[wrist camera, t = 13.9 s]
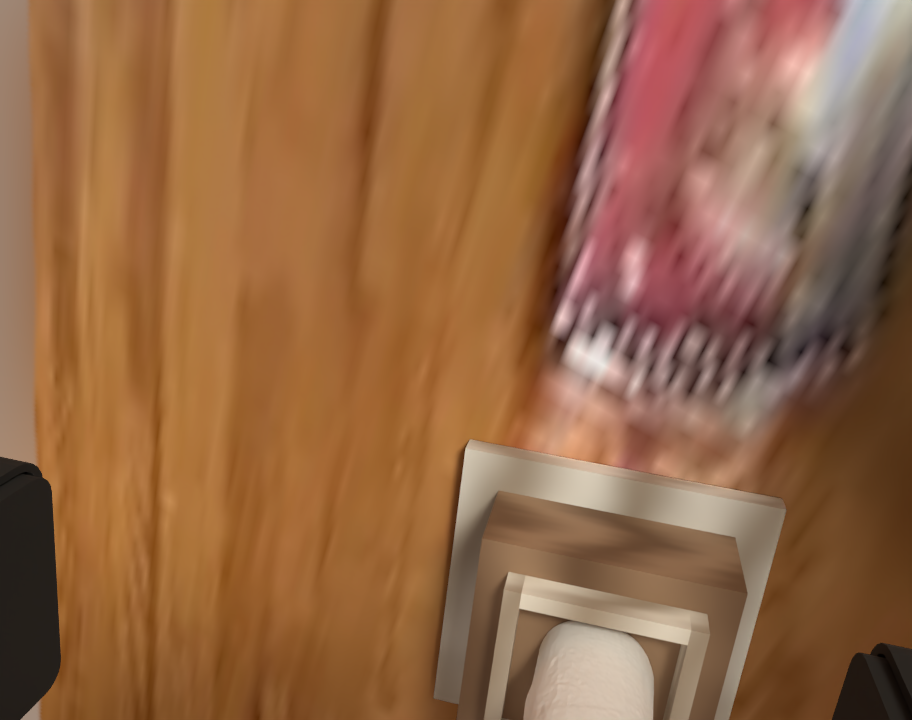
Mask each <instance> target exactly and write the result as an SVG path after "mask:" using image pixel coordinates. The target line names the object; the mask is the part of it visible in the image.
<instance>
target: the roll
mask: <svg viewBox="0 0 912 720" xmlns="http://www.w3.org/2000/svg"><path fill="white" fill-rule="evenodd" d="M653 700H654V676H653V671H652V667H651V665H650V662H649V659H648V657H647V655H646V653H645V652H644V650H643V648H642V647H641V646H640V644H639V643H638V642H637V641H636V640H635V639H634V638H633V637H631V636H630V635H628V634H627V633H625V632H624V631H619V630H615V629H610V628H606V627H601V626H597V625H592V624H587V623H583V622H578V621H574V620H573V621H567V622H563V623H561V624H559V625H557V626H555V627H554V628H552V629H551V630H550V631H549V632H548V633H547V635H546V636H545V638H544V639H543V641H542V643H541V646H540V649H539V655H538V659H537V664H536V668H535V673H534V677H533V681H532V685H531V687H530V690H529V692H528V695H527V698H526V702H525V708H524V717H523V720H653Z"/></svg>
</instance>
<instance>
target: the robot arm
mask: <svg viewBox="0 0 912 720" xmlns="http://www.w3.org/2000/svg"><path fill="white" fill-rule="evenodd" d="M60 662H61V653H60V635H59V616H58V598H57V579H56V560H55V542H54V523H53V504H52V490H51V486H50V484H49V482H48V481H47V480H46V479H44V478H43V477H42V473H41V471H40V470H39V468H38V467H37V466H35V465H34V464H31V463H27V462H22V461H17V460H13V459H8V458H3V457H0V720H20V719H21V718H22V717H23V716H24V715H25V714H26V713H27V712H28V711H29V710H30V709H31V708H32V707H33V706H34V705H35V704H36V703H37V702H38V701H39V700H40V699H41V698H42V697H43V696H44V695H45V694H46V693H47V692H48V690H49V689H50V688H51V686H52V685H53V683H54V681H55V679H56V677H57V675H58V672H59V668H60ZM832 720H912V649H909V648H904V647H899V646H895V645H890V644H885V643H880V644H877V645H876V646H875V647H874V649H873V650H872V652H871V654H870V655H869V654H864V653H857V654H855V656H854V657H853V658H852V661H851V663H850V665H849V669H848V672H847V675H846V678H845V681H844V684H843V687H842V690H841V693H840V696H839V699H838V703H837V706H836V709H835V712H834V715H833V718H832Z"/></svg>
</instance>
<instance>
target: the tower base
mask: <svg viewBox="0 0 912 720" xmlns="http://www.w3.org/2000/svg"><path fill="white" fill-rule="evenodd" d="M785 514H786V507H785V504H784V501H783V499H782V498H776V497H771V496H766V495H760V494H755V493H750V492H745V491H739V490H734V489H729V488H724V487H718V486H713V485H708V484H703V483H697V482H692V481H687V480H682V479H676V478H671V477H666V476H660V475H655V474H650V473H645V472H639V471H634V470H629V469H624V468H618V467H613V466H608V465H603V464H597V463H592V462H587V461H581V460H576V459H571V458H566V457H560V456H555V455H550V454H545V453H539V452H534V451H529V450H524V449H518V448H513V447H508V446H502V445H497V444H492V443H487V442H481V441H476V440H471V439H470V440H469V442H468V444H467V446H466V449H465V457H464V464H463V472H462V480H461V488H460V496H459V503H458V511H457V519H456V527H455V534H454V542H453V550H452V558H451V565H450V573H449V581H448V589H447V597H446V604H445V612H444V620H443V628H442V635H441V643H440V651H439V659H438V667H437V674H436V682H435V690H434V699H438V700H442V701H446V702H450V703H454V704H458V712H457V719H456V720H523V717H524V708H525V702H526V698H527V695H528V692H529V690H530V687H531V685H532V681H533V677H534V673H535V668H536V664H537V659H538V655H539V649H540V646H541V643H542V641H543V639H544V638H545V636H546V635H547V633H548V632H549V631H550V630H551V629H552V628H554V627H555V626H557V625H559V624H561V623H563V622H567V621H573V620H574V621H578V622H583V623H587V624H592V625H597V626H601V627H606V628H610V629H615V630H619V631H624V632H625V633H627V634H628V635H630V636H631V637H633V638H634V639H635V640H636V641H637V642H638V643H639V644H640V646H641V647H642V648H643V650H644V652H645V653H646V655H647V657H648V659H649V662H650V665H651V667H652V671H653V676H654V700H653V720H729V717H730V714H731V710H732V707H733V703H734V699H735V696H736V692H737V688H738V685H739V681H740V677H741V674H742V670H743V667H744V663H745V659H746V656H747V652H748V648H749V645H750V641H751V637H752V634H753V630H754V627H755V623H756V619H757V616H758V612H759V608H760V605H761V601H762V597H763V594H764V590H765V587H766V583H767V579H768V576H769V572H770V568H771V565H772V561H773V557H774V554H775V550H776V547H777V543H778V539H779V536H780V532H781V528H782V525H783V521H784V517H785Z"/></svg>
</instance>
